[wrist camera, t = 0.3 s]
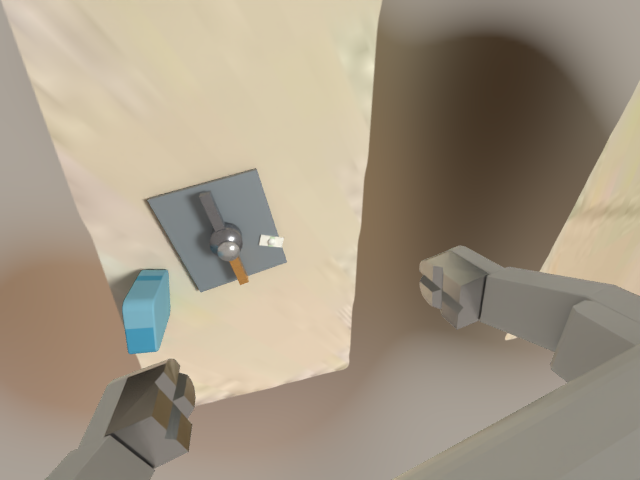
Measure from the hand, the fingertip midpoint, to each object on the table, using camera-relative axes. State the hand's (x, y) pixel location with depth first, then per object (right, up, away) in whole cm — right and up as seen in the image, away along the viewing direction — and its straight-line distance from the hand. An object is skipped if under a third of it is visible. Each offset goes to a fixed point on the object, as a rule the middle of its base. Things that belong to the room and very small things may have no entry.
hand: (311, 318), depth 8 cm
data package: (-35, -8, +46) cm, 58 cm away
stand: (-19, +4, +45) cm, 49 cm away
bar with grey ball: (-19, +3, +43) cm, 47 cm away
